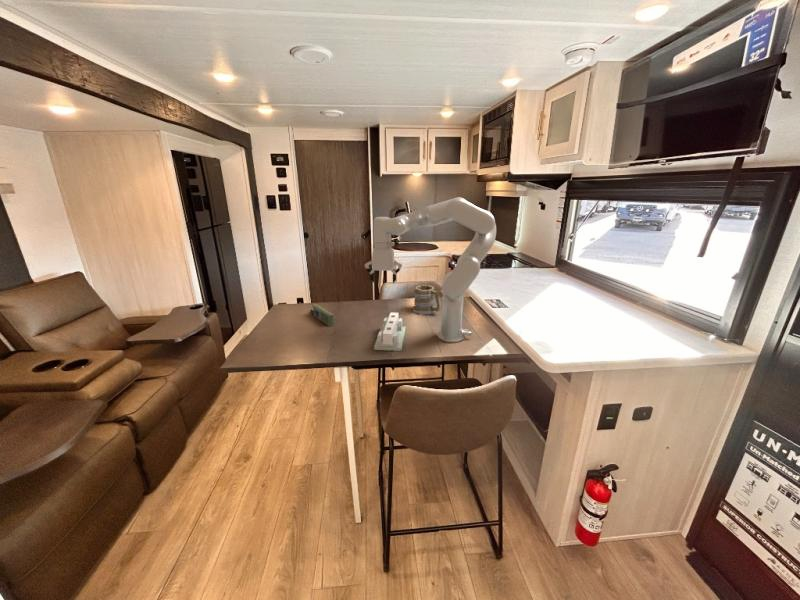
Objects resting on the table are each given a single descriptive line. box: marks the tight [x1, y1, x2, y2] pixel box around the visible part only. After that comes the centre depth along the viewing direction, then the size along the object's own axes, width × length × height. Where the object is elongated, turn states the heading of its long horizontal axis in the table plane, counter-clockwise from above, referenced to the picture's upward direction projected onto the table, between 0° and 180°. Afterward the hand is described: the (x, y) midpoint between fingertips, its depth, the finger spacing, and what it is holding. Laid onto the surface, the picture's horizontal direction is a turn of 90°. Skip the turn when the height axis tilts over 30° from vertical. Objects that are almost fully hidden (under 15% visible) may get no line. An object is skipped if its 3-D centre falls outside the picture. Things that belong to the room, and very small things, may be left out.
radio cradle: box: [373, 317, 407, 352], centre depth 145 cm, size 12×22×6 cm, turn 174°
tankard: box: [412, 284, 443, 316], centre depth 175 cm, size 20×13×15 cm, turn 43°
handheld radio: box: [309, 303, 335, 327], centre depth 168 cm, size 7×3×25 cm
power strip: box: [383, 312, 399, 345], centre depth 144 cm, size 4×24×5 cm, turn 174°
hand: (383, 281), depth 145 cm, fingers open, 9 cm apart
